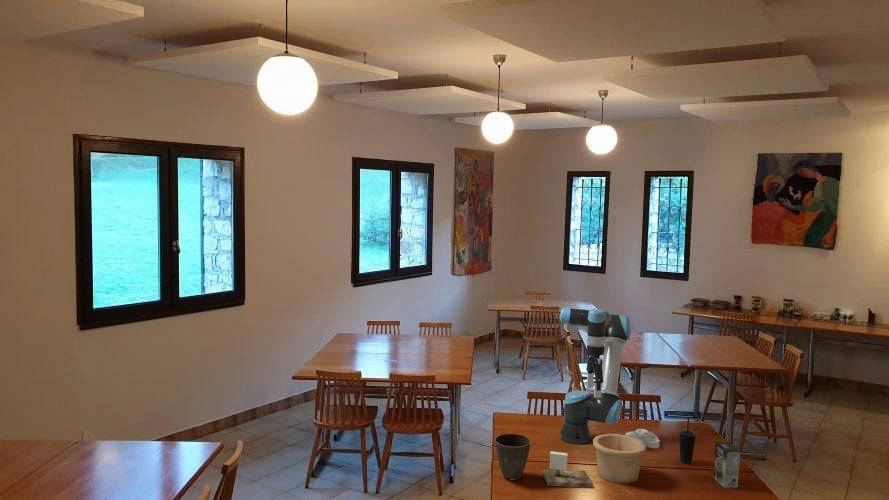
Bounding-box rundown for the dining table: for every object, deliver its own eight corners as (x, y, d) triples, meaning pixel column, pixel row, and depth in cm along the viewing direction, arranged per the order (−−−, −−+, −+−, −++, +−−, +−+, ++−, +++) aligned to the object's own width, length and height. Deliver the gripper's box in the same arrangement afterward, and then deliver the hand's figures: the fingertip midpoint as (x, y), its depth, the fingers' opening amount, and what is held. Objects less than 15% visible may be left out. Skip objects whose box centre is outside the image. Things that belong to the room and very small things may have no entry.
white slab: (575, 477, 268) (576, 456, 267) (549, 474, 271) (550, 453, 270) (575, 475, 270) (576, 454, 270) (549, 472, 273) (550, 451, 272)
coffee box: (712, 478, 277) (714, 441, 276) (727, 478, 277) (729, 441, 276) (723, 488, 268) (725, 450, 266) (738, 487, 268) (740, 450, 267)
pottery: (587, 464, 289) (588, 432, 288) (637, 466, 288) (638, 434, 287) (597, 485, 267) (598, 451, 266) (650, 487, 266) (652, 453, 265)
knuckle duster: (622, 435, 326) (650, 435, 328) (637, 449, 308) (666, 448, 310) (622, 429, 326) (650, 428, 328) (637, 442, 308) (666, 442, 310)
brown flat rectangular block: (547, 486, 265) (547, 481, 265) (542, 474, 277) (542, 469, 277) (591, 487, 265) (591, 482, 265) (584, 475, 277) (584, 470, 277)
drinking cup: (696, 466, 289) (698, 422, 287) (678, 464, 291) (680, 421, 289) (693, 459, 297) (695, 417, 295) (675, 457, 298) (678, 415, 296)
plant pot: (506, 487, 263) (507, 449, 262) (487, 473, 276) (488, 436, 275) (536, 480, 270) (537, 443, 269) (516, 467, 283) (517, 431, 282)
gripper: (612, 352, 271) (609, 401, 273) (597, 339, 296) (595, 384, 298) (594, 351, 271) (592, 401, 273) (580, 338, 296) (578, 384, 298)
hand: (593, 392), depth 285 cm, fingers open, 13 cm apart
